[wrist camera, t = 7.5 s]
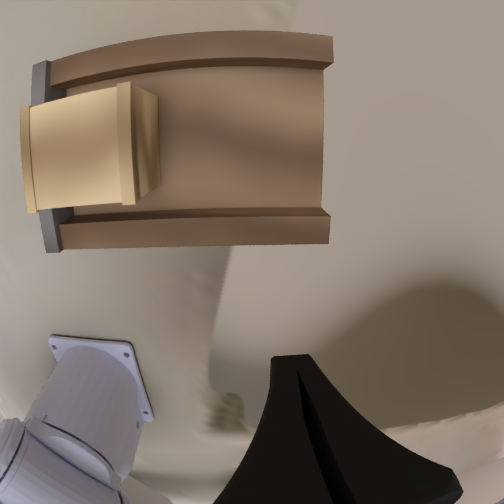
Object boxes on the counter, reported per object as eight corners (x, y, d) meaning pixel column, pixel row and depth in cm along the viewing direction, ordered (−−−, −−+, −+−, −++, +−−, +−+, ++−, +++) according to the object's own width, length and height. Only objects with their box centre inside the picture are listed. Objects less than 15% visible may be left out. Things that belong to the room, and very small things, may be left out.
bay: (315, 227, 19) (331, 247, 16) (72, 234, 18) (46, 252, 15) (318, 50, 15) (335, 33, 12) (62, 72, 14) (32, 65, 11)
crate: (160, 186, 16) (135, 204, 12) (70, 194, 16) (27, 213, 12) (158, 94, 15) (130, 81, 10) (65, 110, 14) (19, 108, 10)
